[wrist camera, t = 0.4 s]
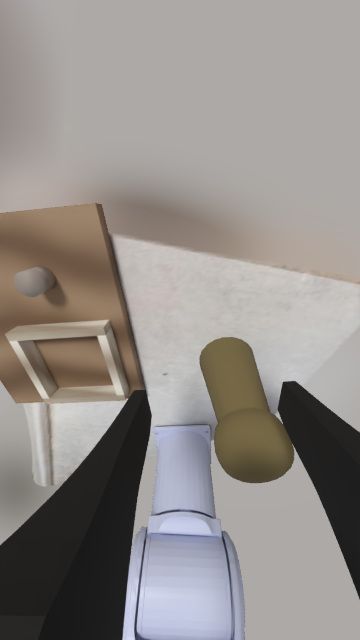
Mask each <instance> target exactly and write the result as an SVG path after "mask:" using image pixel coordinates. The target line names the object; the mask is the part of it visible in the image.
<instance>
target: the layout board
mask: <svg viewBox="0 0 360 640" xmlns="http://www.w3.org/2000/svg"><path fill="white" fill-rule="evenodd" d="M0 380H1V382H2V383H3V385H4V386H5V388H6V389H7V391H8V392H9V394H10V395H11V396H12V398H13V399H14V401H15V402H16V403H33V402H45V404H53V403H75V402H97V401H120V400H126V398H129V397H130V396H131V394H132V392H133V391H134V390H145V388H144V384H143V380H142V375H141V371H140V367H139V362H138V358H137V354H136V350H135V345H134V341H133V337H132V332H131V328H130V324H129V320H128V315H127V311H126V307H125V302H124V298H123V294H122V290H121V285H120V281H119V277H118V272H117V268H116V264H115V259H114V255H113V251H112V247H111V242H110V238H109V234H108V229H107V225H106V221H105V217H104V212H103V208H102V204H96V203H93V204H84V205H74V206H64V207H54V208H45V209H36V210H26V211H16V212H6V213H0Z"/></svg>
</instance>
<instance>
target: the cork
mask: <svg viewBox="0 0 360 640" xmlns="http://www.w3.org/2000/svg"><path fill="white" fill-rule="evenodd" d="M200 366H201V370H202V373H203V376H204V379H205V382H206V386H207V389H208V392H209V395H210V398H211V402H212V405H213V408H214V411H215V415H216V418H217V421H218V425H217V427H216V429H215V439H214V444H215V452H216V455H217V458H218V461H219V462H220V464H221V466H222V468H223V469H224V470H225V472H226V473H227V474H229V475H230V476H231V477H233V478H235V479H237V480H240V481H242V482H247V483H263V482H269V481H272V480H275V479H278V478H279V477H281V476H283V475H284V474H285V473H286V472H287V471H288V470H289V469H290V468H291V466H292V464H293V461H294V449H293V445H292V442H291V440H290V438H289V436H288V434H287V432H286V430H285V427H284V425H283V424H282V423H281V421H280V420H279V419H278V418H277V417H276V416H275V415H273V414H272V413H270V410H269V406H268V403H267V399H266V396H265V393H264V389H263V386H262V382H261V379H260V376H259V372H258V369H257V365H256V362H255V359H254V355H253V352H252V349H251V347H250V346H249V345H248V344H247V343H246V342H244V341H243V340H241V339H237V338H233V337H226V338H220V339H217V340H214V341H213V342H211V343H209V344H208V345H207V346H206V347H205V348H204V349H203V350H202V353H201V355H200Z"/></svg>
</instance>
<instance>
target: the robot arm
mask: <svg viewBox="0 0 360 640" xmlns="http://www.w3.org/2000/svg"><path fill="white" fill-rule="evenodd" d="M278 411H279V414H280V417H281V419H282V422H283V425H284V427H285V430H286V432H287V434H288V436H289V438H290V440H291V442H292V443H293V445H294V447H295V449H296V451H297V453H298V455H299V457H300V459H301V461H302V463H303V465H304V467H305V469H306V470H307V472H308V474H309V476H310V478H311V480H312V482H313V484H314V487H315V489H316V491H317V493H318V495H319V498H320V500H321V502H322V505H323V507H324V509H325V511H326V514H327V517H328V519H329V521H330V523H331V526H332V529H333V531H334V534H335V536H336V539H337V541H338V544H339V546H340V549H341V551H342V554H343V556H344V559H345V562H346V564H347V567H348V569H349V572H350V574H351V577H352V580H353V583H354V585H355V588H356V590H357V593H358V596H359V598H360V432H358V431H357V430H355V429H354V428H353V427H352V426H350V425H349V424H348V423H346V422H345V421H344V420H342V419H341V418H340V417H338V416H337V415H336V414H335V413H333V412H332V411H331V410H330V409H328V408H327V407H326V406H325V405H324V404H322V403H321V402H320V401H319V400H317V399H316V398H315V397H314V396H313V395H311V394H310V393H309V392H308V391H307V390H305V389H304V388H303V387H302V386H301V385H299V384H298V383H297V382H296V381H289V382H283V384H282V389H281V395H280V400H279V405H278ZM151 417H152V415H151V410H150V406H149V402H148V398H147V394H146V390H134V391H133V392H132V394H131V396H130V397H129V399H128V400H127V402H126V404H125V405H124V407H123V408H122V410H121V411H120V413H119V414H118V416H117V417H116V419H115V420H114V421H113V423H112V424H111V426H110V427H109V429H108V430H107V431H106V433H105V434H104V435H103V437H102V438H101V439H100V441H99V442H98V443H97V445H96V446H95V447H94V449H93V450H92V451H91V452H90V454H89V455H88V456H87V457H86V458H85V460H84V461H83V462H82V463H81V464H80V465H79V467H78V468H77V469H76V470H75V471H74V472H73V473H72V475H71V476H70V477H69V478H68V479H67V480H66V481H65V482H64V483H63V484H62V486H61V487H60V488H59V489H58V490H57V491H56V492H55V493H54V494H53V495H52V496H51V497H50V498H49V499H48V500H47V501H46V502H45V503H44V504H43V505H42V506H41V507H40V508H39V509H38V510H37V511H36V512H35V513H34V514H33V515H32V516H31V517H30V518H29V519H28V520H27V521H26V522H25V523H24V524H23V525H22V526H21V527H20V528H19V529H18V530H17V531H15V532H14V533H13V534H12V535H11V536H10V537H9V538H8V539H7V540H6V541H4V542H3V543H2V544H1V545H0V640H245V632H244V628H245V606H244V605H245V604H244V593H243V584H242V577H241V571H240V565H239V560H238V556H237V552H236V549H235V546H234V543H233V542H232V540H231V539H230V537H229V535H228V534H227V532H225V531H221V524H220V519H216V515H215V506H214V496H213V487H212V478H211V468H210V464H211V436H210V426H209V425H190V426H162V427H154V428H153V433H154V437H155V441H156V446H157V450H158V458H157V466H156V476H155V484H154V493H153V502H152V511H151V515H150V516H149V523H148V531H147V527H142V528H141V529H140V531H139V532H138V533H137V534H136V537H135V540H134V544H133V549H132V554H131V546H132V537H133V528H134V520H135V511H136V503H137V497H138V491H139V485H140V480H141V475H142V470H143V466H144V461H145V456H146V451H147V446H148V441H149V436H150V427H151ZM130 555H131V560H130ZM129 564H130V566H129Z"/></svg>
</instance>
